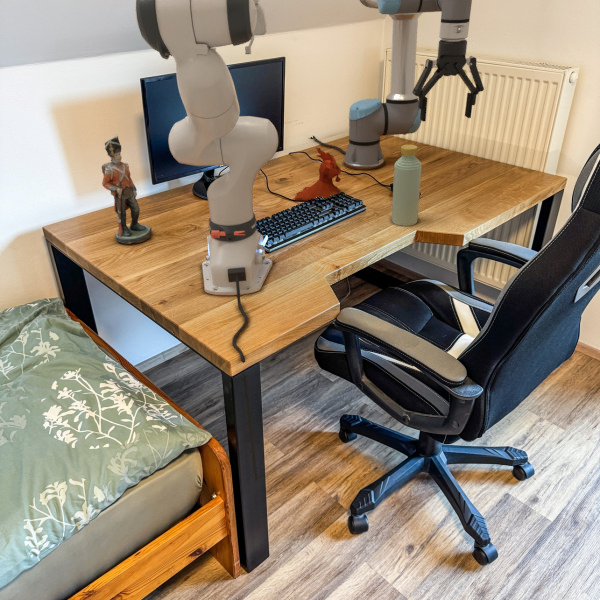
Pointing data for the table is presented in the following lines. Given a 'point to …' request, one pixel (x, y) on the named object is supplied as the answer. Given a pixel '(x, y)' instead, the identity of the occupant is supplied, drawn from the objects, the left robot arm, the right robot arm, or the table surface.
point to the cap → (409, 150)
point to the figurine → (123, 195)
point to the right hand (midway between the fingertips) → (445, 118)
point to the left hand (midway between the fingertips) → (231, 54)
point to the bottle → (406, 190)
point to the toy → (323, 179)
